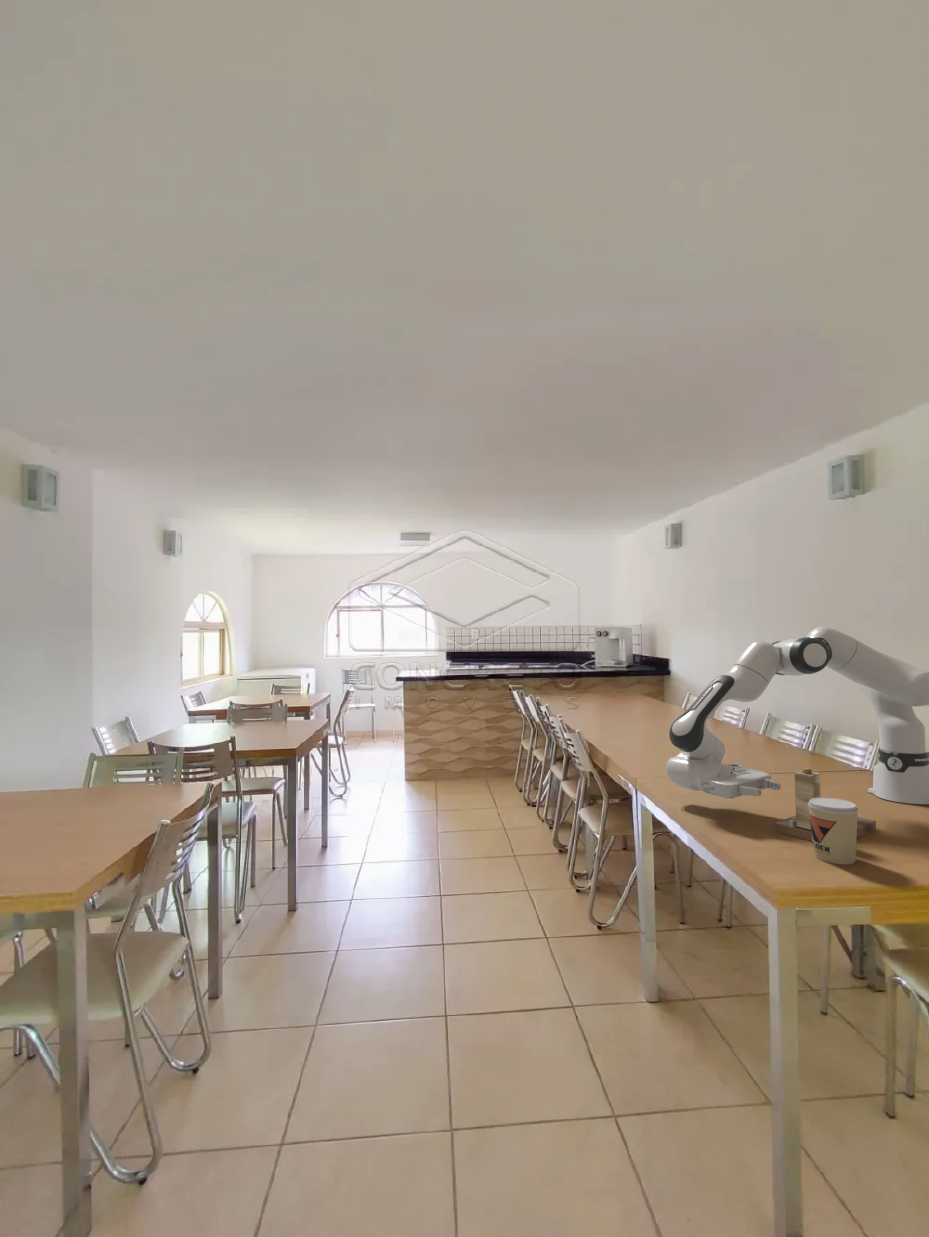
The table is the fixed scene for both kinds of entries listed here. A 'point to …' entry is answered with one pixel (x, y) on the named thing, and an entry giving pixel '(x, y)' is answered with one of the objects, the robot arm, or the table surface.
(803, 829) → the board
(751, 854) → the table surface
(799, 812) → the beige tall block
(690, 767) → the robot arm
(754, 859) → the table surface
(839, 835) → the coffee cup
